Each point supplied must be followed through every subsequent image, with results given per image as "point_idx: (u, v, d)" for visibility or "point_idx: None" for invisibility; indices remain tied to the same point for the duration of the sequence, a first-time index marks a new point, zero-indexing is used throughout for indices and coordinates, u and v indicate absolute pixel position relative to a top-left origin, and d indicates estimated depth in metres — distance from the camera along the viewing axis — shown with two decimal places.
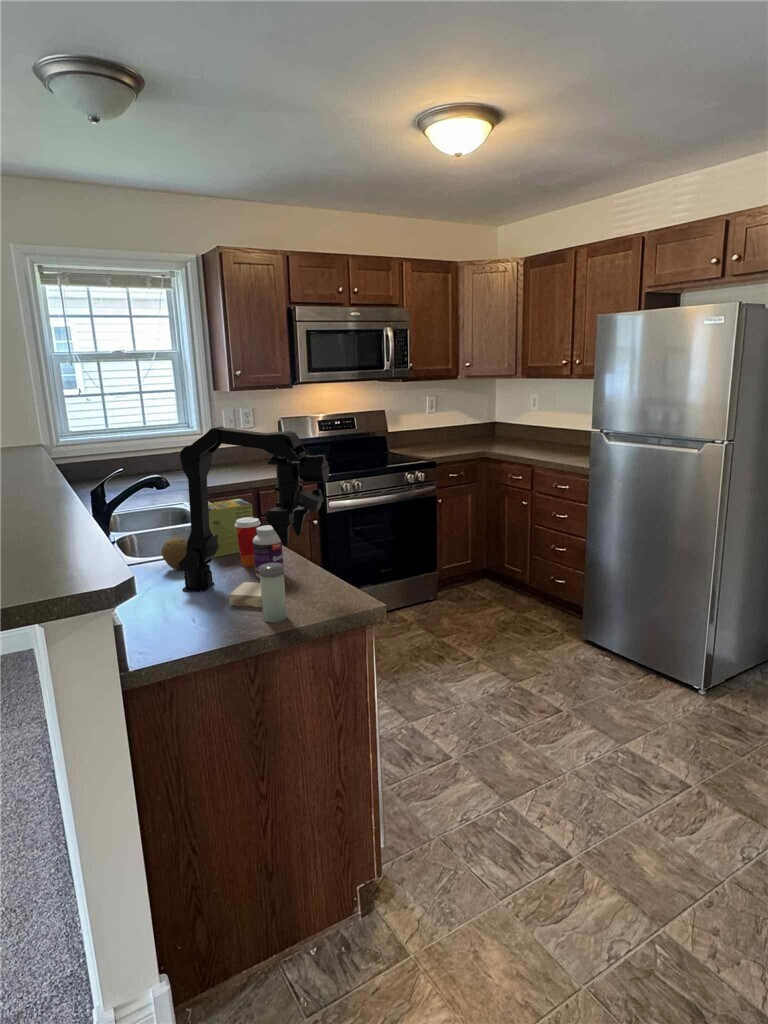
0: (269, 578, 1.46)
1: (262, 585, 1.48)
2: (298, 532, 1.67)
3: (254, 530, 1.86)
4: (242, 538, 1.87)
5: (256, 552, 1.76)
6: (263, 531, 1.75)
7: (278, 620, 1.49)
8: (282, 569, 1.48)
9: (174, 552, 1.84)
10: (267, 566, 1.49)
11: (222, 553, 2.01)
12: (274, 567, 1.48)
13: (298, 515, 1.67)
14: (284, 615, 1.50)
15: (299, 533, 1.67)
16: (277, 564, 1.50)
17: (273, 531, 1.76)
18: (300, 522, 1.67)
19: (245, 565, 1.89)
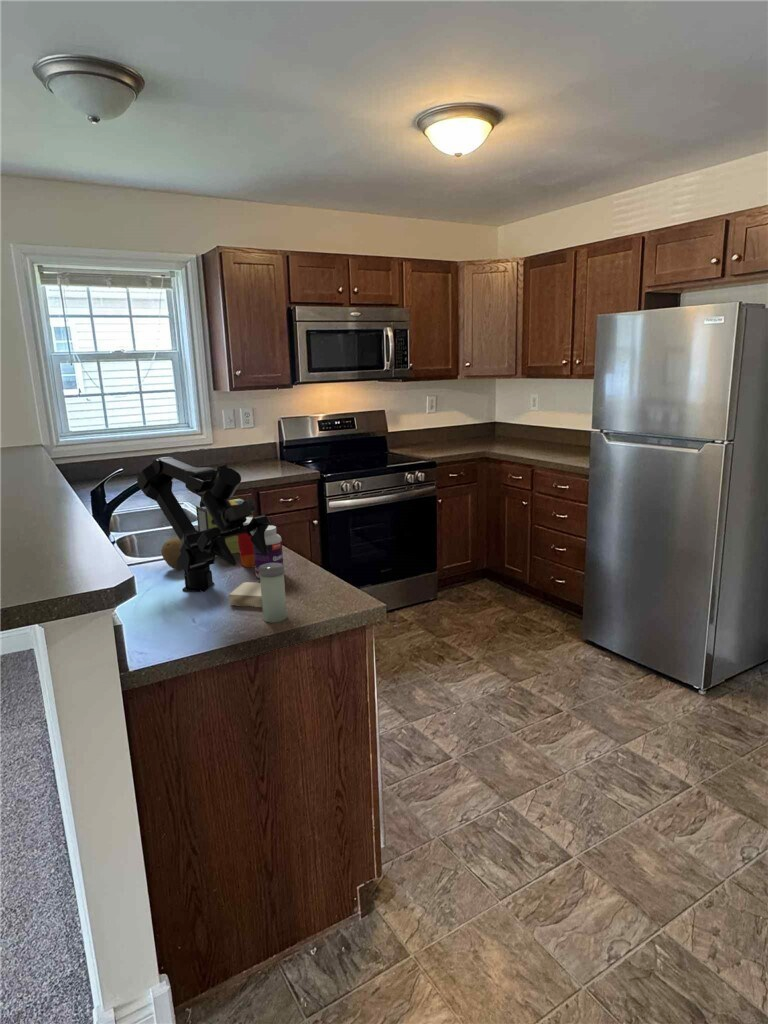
0: (269, 578, 1.46)
1: (262, 585, 1.48)
2: (264, 552, 1.57)
3: None
4: (242, 538, 1.87)
5: (256, 552, 1.76)
6: None
7: (278, 620, 1.49)
8: (282, 569, 1.48)
9: (174, 551, 1.84)
10: (267, 566, 1.49)
11: None
12: (274, 567, 1.48)
13: (257, 537, 1.59)
14: (284, 615, 1.50)
15: (265, 552, 1.57)
16: (277, 564, 1.50)
17: (273, 531, 1.76)
18: (260, 542, 1.58)
19: (245, 565, 1.89)
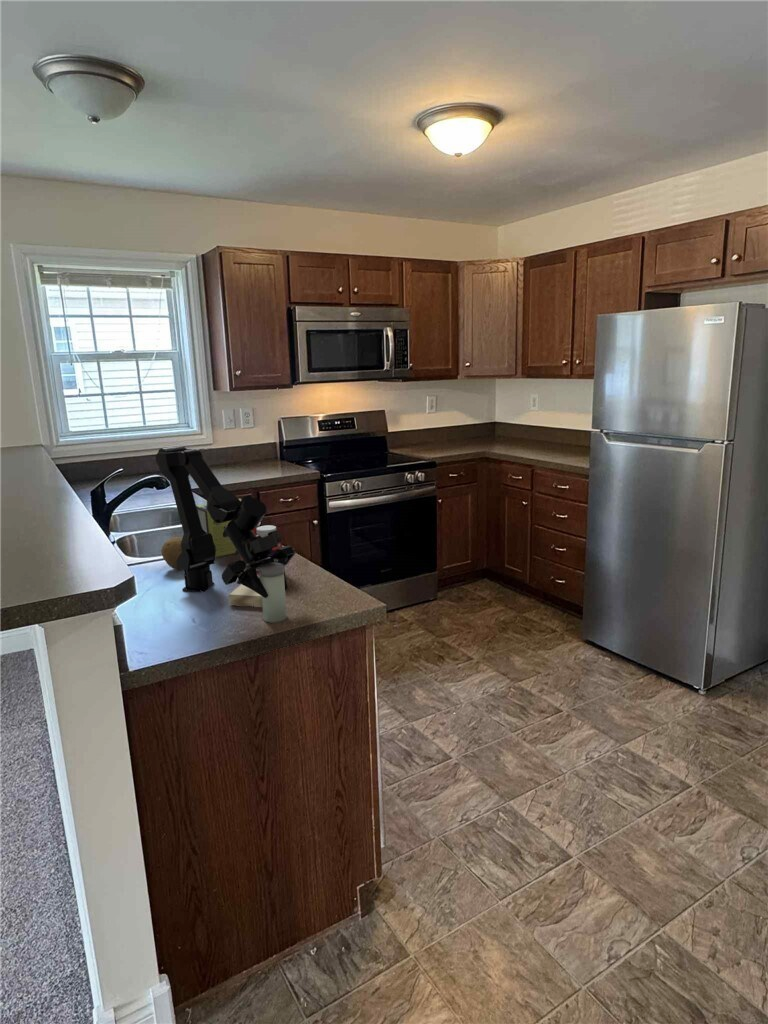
0: (269, 578, 1.46)
1: None
2: None
3: (254, 530, 1.86)
4: None
5: None
6: (263, 531, 1.75)
7: (278, 620, 1.49)
8: (282, 569, 1.48)
9: (174, 551, 1.84)
10: (267, 566, 1.49)
11: (222, 553, 2.01)
12: (274, 567, 1.48)
13: None
14: (284, 615, 1.50)
15: (285, 586, 1.51)
16: (277, 564, 1.50)
17: None
18: None
19: None
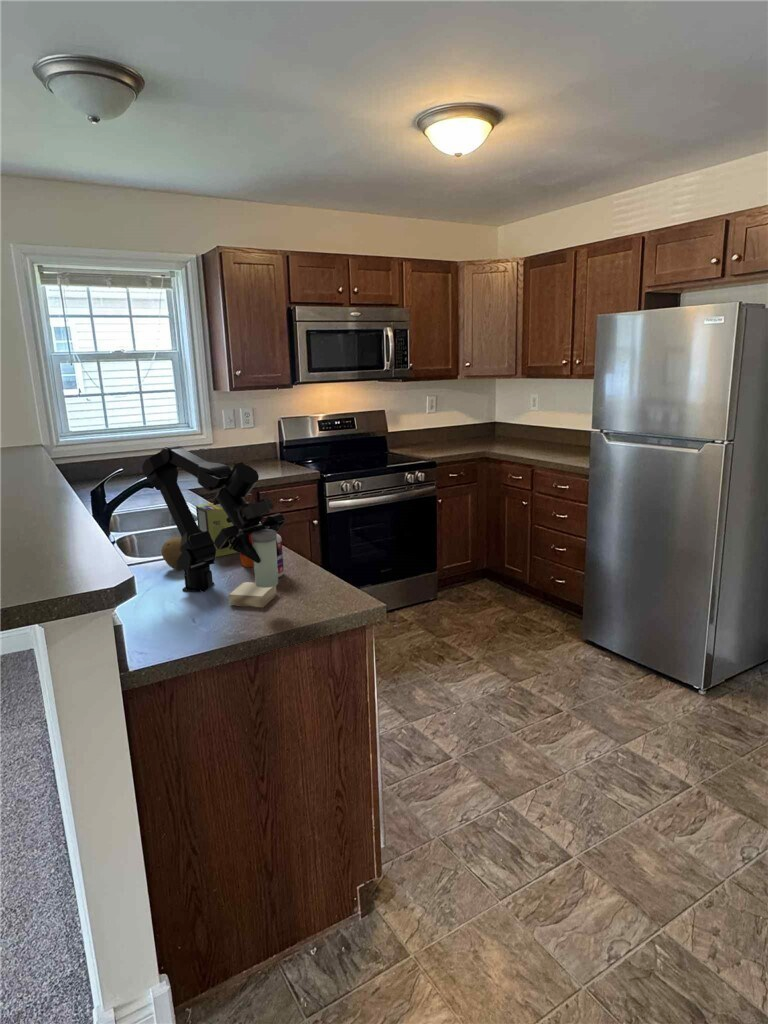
0: (262, 543, 1.48)
1: (255, 550, 1.50)
2: None
3: None
4: None
5: None
6: None
7: (270, 585, 1.52)
8: (275, 534, 1.50)
9: (174, 551, 1.84)
10: (259, 532, 1.51)
11: (222, 553, 2.01)
12: (267, 532, 1.50)
13: None
14: (276, 580, 1.53)
15: (277, 552, 1.54)
16: (269, 530, 1.52)
17: None
18: None
19: (245, 565, 1.89)
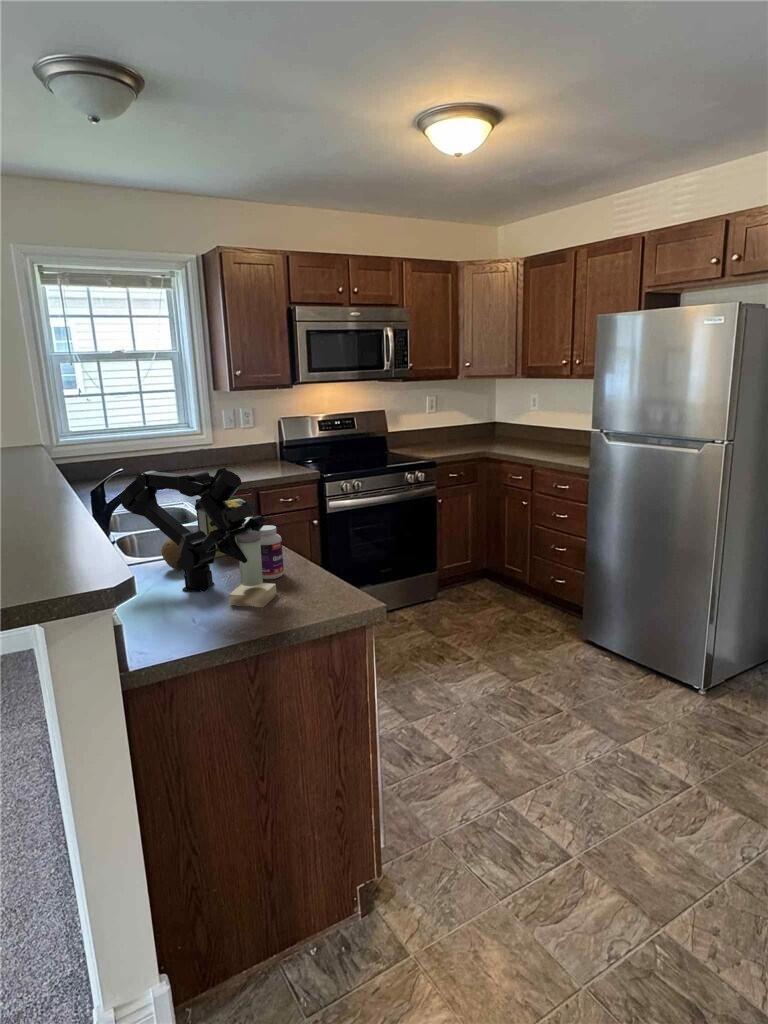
0: (248, 544, 1.57)
1: None
2: None
3: None
4: None
5: None
6: (263, 531, 1.75)
7: (256, 583, 1.60)
8: (259, 535, 1.59)
9: (174, 551, 1.84)
10: (243, 533, 1.59)
11: (222, 553, 2.01)
12: (251, 533, 1.59)
13: None
14: (261, 579, 1.61)
15: None
16: (252, 531, 1.61)
17: (273, 531, 1.76)
18: None
19: None
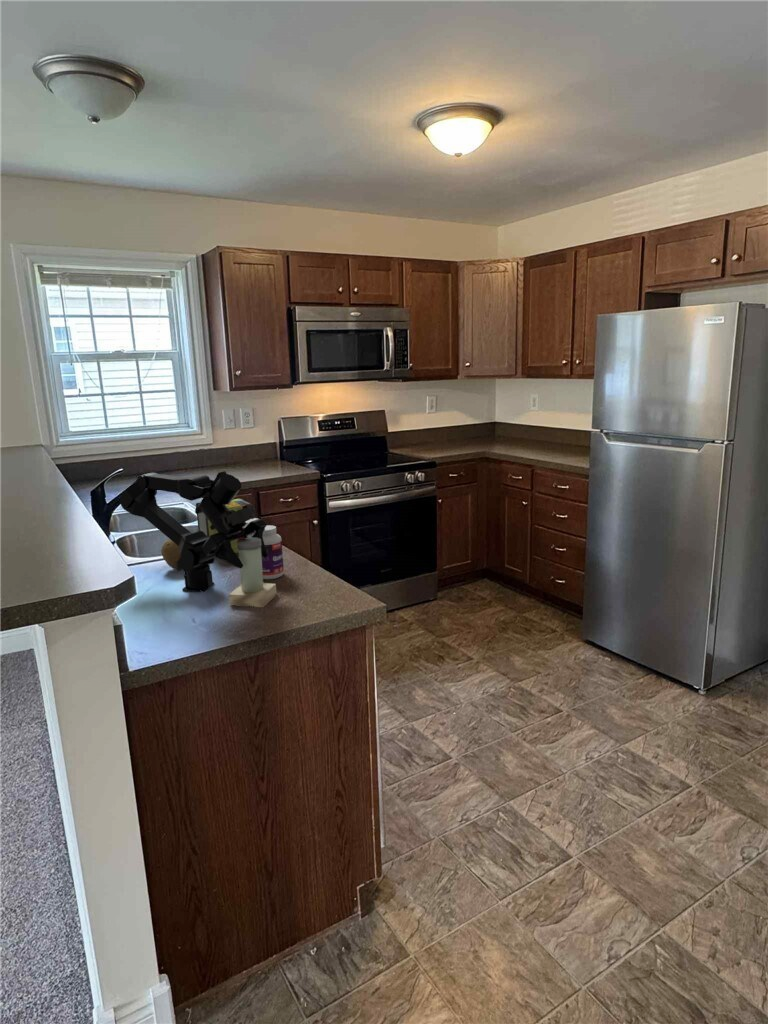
0: (249, 551, 1.57)
1: (241, 558, 1.58)
2: (264, 554, 1.64)
3: None
4: (242, 538, 1.87)
5: None
6: (263, 531, 1.75)
7: (257, 590, 1.60)
8: (260, 542, 1.59)
9: (174, 551, 1.84)
10: (244, 540, 1.60)
11: None
12: (252, 540, 1.59)
13: None
14: (262, 585, 1.62)
15: (265, 554, 1.64)
16: (253, 538, 1.61)
17: (273, 531, 1.76)
18: None
19: None
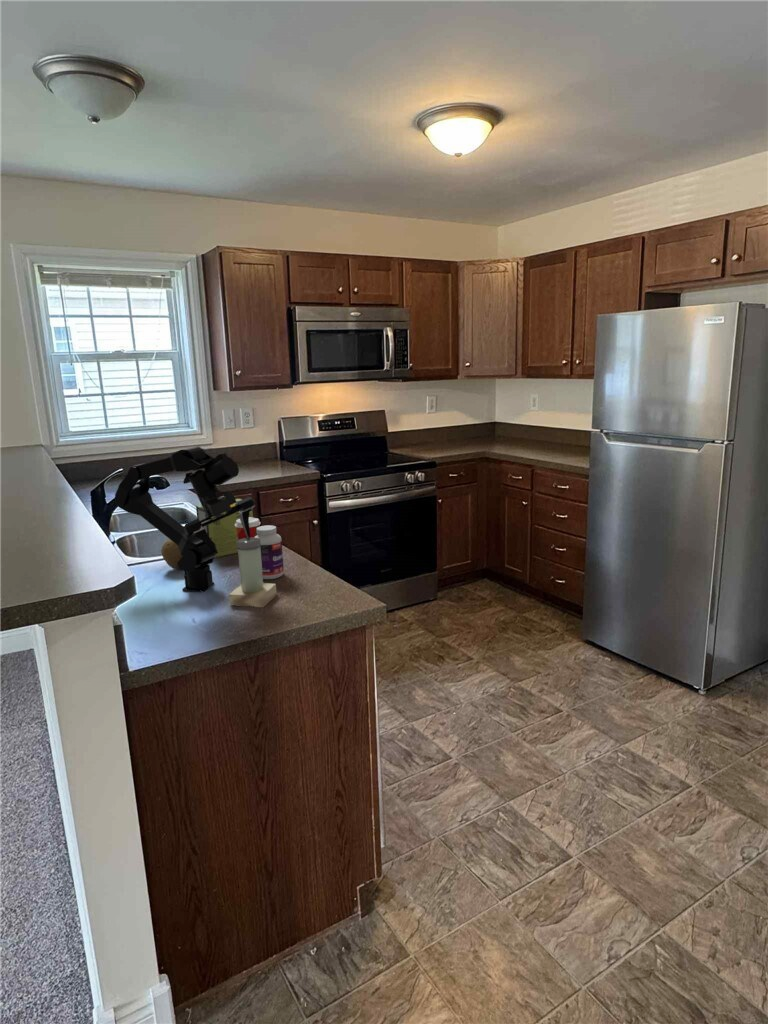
0: (248, 551, 1.57)
1: (241, 558, 1.58)
2: (247, 535, 1.66)
3: (254, 530, 1.86)
4: (242, 538, 1.87)
5: None
6: (263, 531, 1.75)
7: (257, 590, 1.60)
8: (259, 542, 1.59)
9: (174, 551, 1.84)
10: (244, 540, 1.60)
11: (222, 553, 2.01)
12: (251, 540, 1.59)
13: (242, 519, 1.66)
14: (262, 585, 1.62)
15: (248, 536, 1.66)
16: (252, 538, 1.61)
17: (273, 531, 1.76)
18: (244, 525, 1.65)
19: None
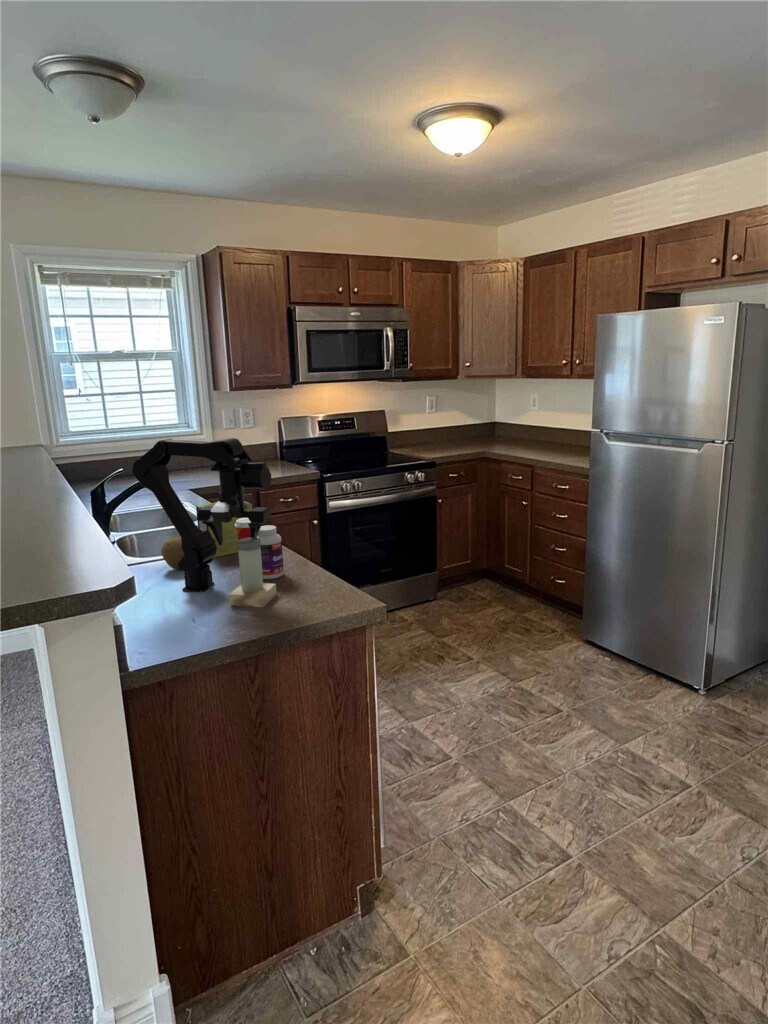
0: (249, 551, 1.57)
1: (241, 558, 1.58)
2: None
3: None
4: (242, 538, 1.87)
5: None
6: (263, 531, 1.75)
7: (257, 590, 1.60)
8: (260, 542, 1.59)
9: (174, 551, 1.84)
10: (244, 540, 1.60)
11: (222, 553, 2.01)
12: (252, 541, 1.59)
13: None
14: (262, 585, 1.62)
15: None
16: (253, 538, 1.61)
17: (273, 531, 1.76)
18: None
19: None
